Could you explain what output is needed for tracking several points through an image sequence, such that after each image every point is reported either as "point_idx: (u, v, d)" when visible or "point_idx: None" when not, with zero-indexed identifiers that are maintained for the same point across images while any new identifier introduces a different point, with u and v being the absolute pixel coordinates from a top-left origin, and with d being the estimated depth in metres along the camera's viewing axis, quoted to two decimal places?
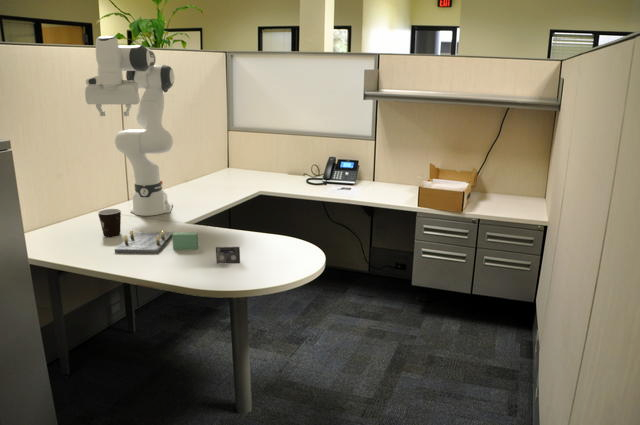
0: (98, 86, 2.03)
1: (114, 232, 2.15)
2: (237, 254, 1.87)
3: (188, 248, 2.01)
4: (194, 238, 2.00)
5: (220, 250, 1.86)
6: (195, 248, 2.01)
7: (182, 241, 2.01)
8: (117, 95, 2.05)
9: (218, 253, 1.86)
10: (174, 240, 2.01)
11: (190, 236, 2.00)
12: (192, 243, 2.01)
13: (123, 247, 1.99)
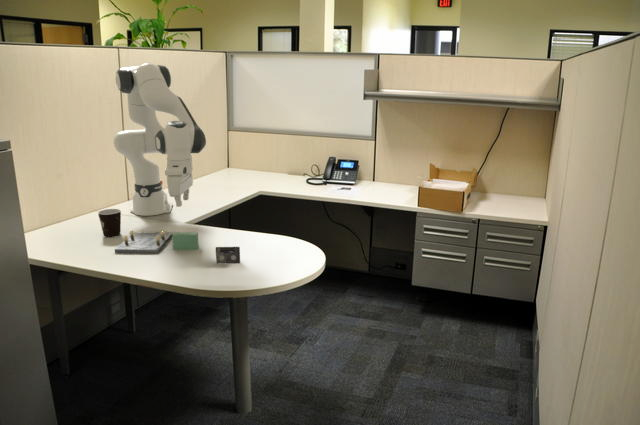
0: (185, 174, 1.91)
1: (114, 232, 2.15)
2: (237, 254, 1.87)
3: (188, 248, 2.01)
4: (194, 238, 2.00)
5: (220, 250, 1.86)
6: (195, 248, 2.01)
7: (182, 241, 2.01)
8: (187, 179, 1.98)
9: (218, 253, 1.86)
10: (174, 240, 2.01)
11: (190, 236, 2.00)
12: (192, 244, 2.01)
13: (123, 247, 1.99)
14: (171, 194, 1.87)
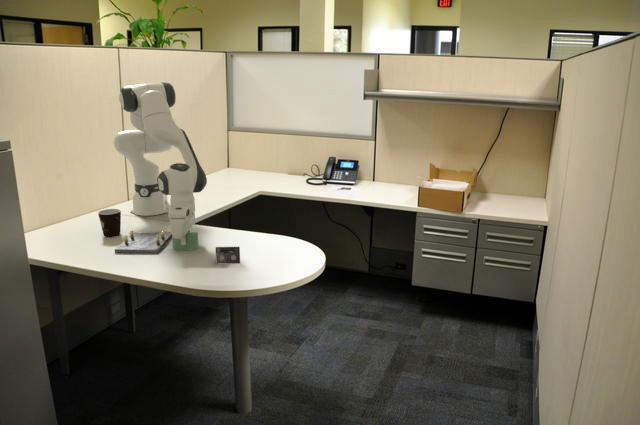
0: (188, 216, 1.95)
1: (114, 232, 2.15)
2: (237, 254, 1.87)
3: (188, 248, 2.01)
4: (194, 238, 2.00)
5: (220, 250, 1.86)
6: (195, 248, 2.01)
7: None
8: (190, 219, 2.03)
9: (218, 253, 1.86)
10: (174, 240, 2.01)
11: (190, 236, 2.00)
12: (192, 243, 2.01)
13: (123, 247, 1.99)
14: (175, 236, 1.91)
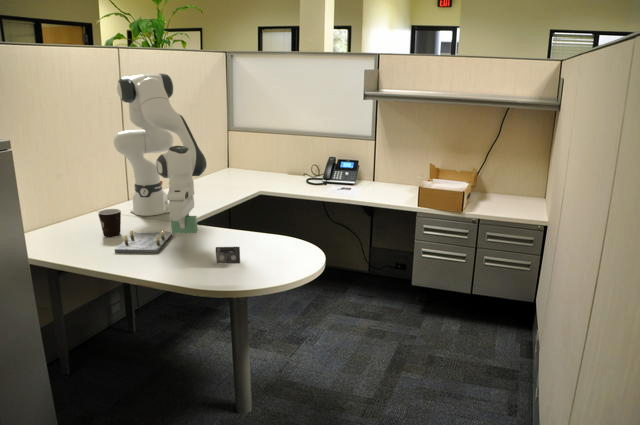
0: (187, 199, 1.94)
1: (114, 232, 2.15)
2: (237, 254, 1.87)
3: (187, 231, 2.00)
4: (193, 221, 1.98)
5: (220, 250, 1.86)
6: (194, 231, 2.00)
7: None
8: (189, 203, 2.01)
9: (218, 253, 1.86)
10: (173, 223, 1.99)
11: (189, 219, 1.98)
12: (191, 227, 1.99)
13: (123, 247, 1.99)
14: (173, 218, 1.89)
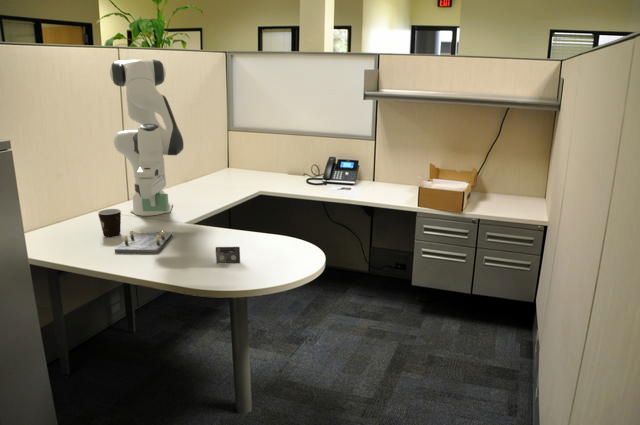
0: (157, 176, 1.95)
1: (114, 232, 2.15)
2: (237, 254, 1.87)
3: (158, 209, 2.01)
4: (164, 199, 1.99)
5: (220, 250, 1.86)
6: (165, 209, 2.01)
7: None
8: (160, 181, 2.02)
9: (218, 253, 1.86)
10: (144, 201, 2.00)
11: (160, 197, 1.99)
12: (162, 205, 2.00)
13: (123, 247, 1.99)
14: (143, 196, 1.90)
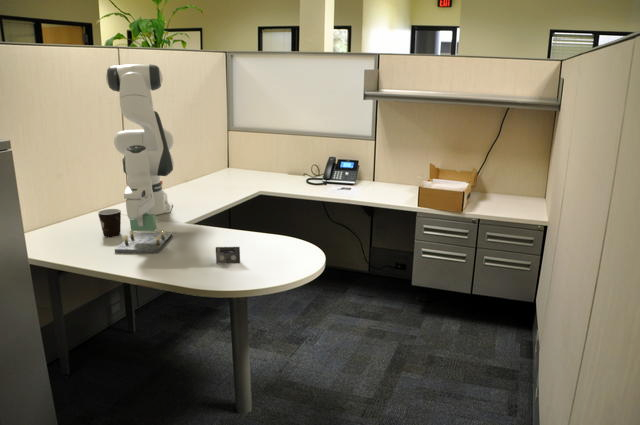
0: (144, 197, 1.98)
1: (114, 232, 2.15)
2: (237, 254, 1.87)
3: (145, 229, 2.04)
4: (151, 219, 2.03)
5: (220, 250, 1.86)
6: (152, 229, 2.04)
7: None
8: (148, 201, 2.05)
9: (218, 253, 1.86)
10: (132, 221, 2.03)
11: (147, 217, 2.02)
12: (150, 225, 2.03)
13: (123, 247, 1.99)
14: (130, 216, 1.94)
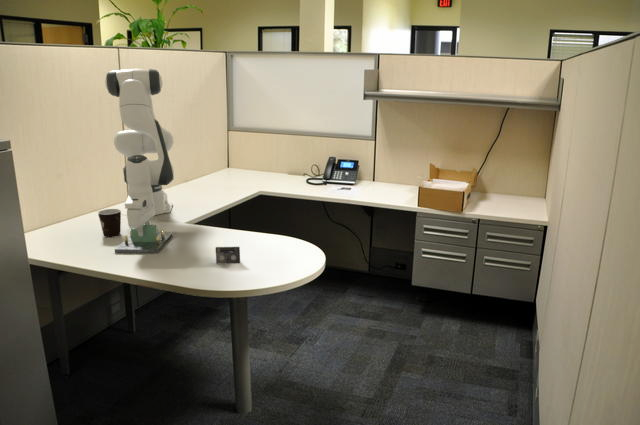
0: (145, 207, 1.99)
1: (114, 232, 2.15)
2: (237, 254, 1.87)
3: (147, 240, 2.05)
4: (152, 230, 2.04)
5: (220, 250, 1.86)
6: (153, 240, 2.05)
7: None
8: (149, 210, 2.06)
9: (218, 253, 1.86)
10: (133, 232, 2.04)
11: (148, 228, 2.04)
12: (151, 236, 2.05)
13: (123, 247, 1.99)
14: (131, 226, 1.95)
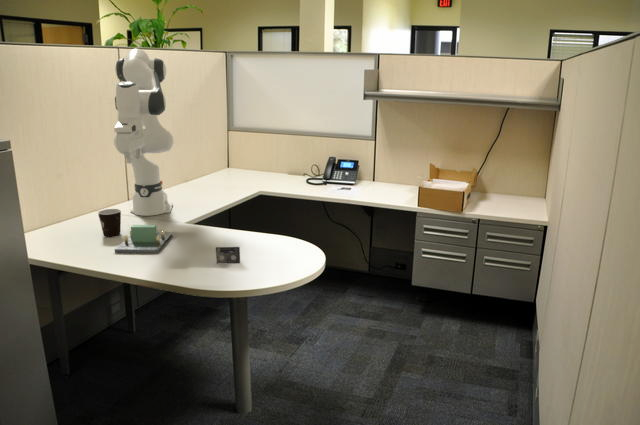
0: (134, 132, 2.01)
1: (114, 232, 2.15)
2: (237, 254, 1.87)
3: (147, 240, 2.05)
4: (152, 230, 2.04)
5: (220, 250, 1.86)
6: (153, 240, 2.05)
7: (141, 233, 2.04)
8: (139, 139, 2.09)
9: (218, 253, 1.86)
10: (133, 232, 2.04)
11: (148, 228, 2.04)
12: (151, 236, 2.05)
13: (123, 247, 1.99)
14: (120, 150, 1.97)
